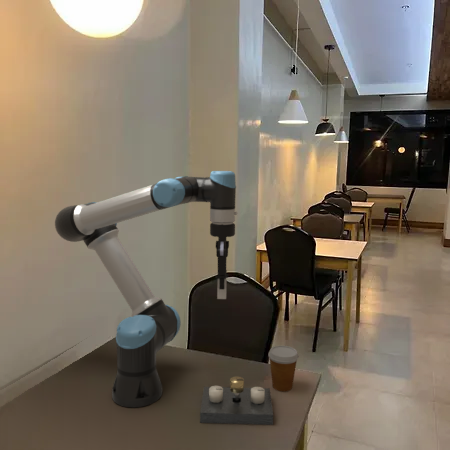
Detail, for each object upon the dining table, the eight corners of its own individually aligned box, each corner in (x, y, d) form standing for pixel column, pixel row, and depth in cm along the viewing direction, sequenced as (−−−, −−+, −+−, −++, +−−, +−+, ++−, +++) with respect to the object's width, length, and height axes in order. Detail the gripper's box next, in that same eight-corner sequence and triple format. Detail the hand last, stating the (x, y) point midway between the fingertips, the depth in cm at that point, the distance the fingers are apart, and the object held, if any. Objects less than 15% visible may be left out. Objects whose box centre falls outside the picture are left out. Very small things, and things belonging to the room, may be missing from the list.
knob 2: (250, 413, 127) (250, 393, 126) (250, 405, 131) (250, 386, 130) (264, 413, 127) (265, 393, 126) (263, 405, 131) (264, 386, 130)
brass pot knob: (229, 402, 127) (229, 382, 126) (229, 395, 131) (230, 376, 130) (243, 403, 127) (244, 383, 126) (243, 395, 131) (243, 376, 130)
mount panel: (200, 422, 122) (200, 412, 122) (204, 395, 136) (204, 386, 136) (272, 424, 122) (273, 414, 121) (269, 397, 136) (269, 388, 135)
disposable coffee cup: (296, 396, 137) (298, 359, 135) (265, 392, 139) (266, 356, 137) (297, 381, 146) (299, 346, 144) (269, 377, 148) (270, 343, 146)
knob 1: (208, 412, 127) (208, 392, 126) (209, 404, 131) (209, 385, 130) (222, 412, 127) (222, 392, 126) (223, 404, 131) (223, 385, 130)
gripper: (234, 226, 127) (233, 305, 131) (235, 219, 140) (234, 292, 143) (208, 225, 127) (208, 304, 131) (211, 219, 140) (210, 291, 144)
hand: (221, 298), depth 137 cm, fingers closed
